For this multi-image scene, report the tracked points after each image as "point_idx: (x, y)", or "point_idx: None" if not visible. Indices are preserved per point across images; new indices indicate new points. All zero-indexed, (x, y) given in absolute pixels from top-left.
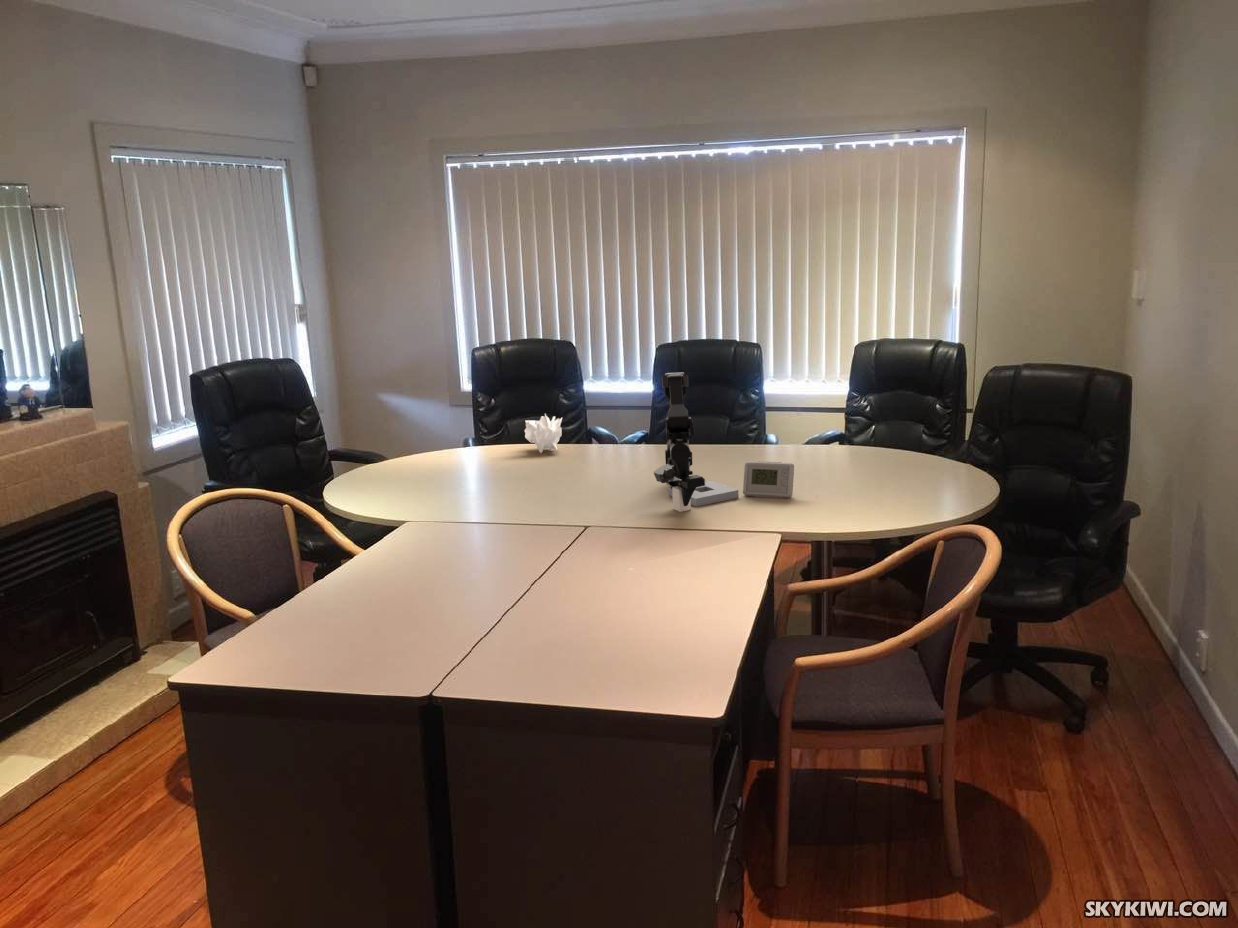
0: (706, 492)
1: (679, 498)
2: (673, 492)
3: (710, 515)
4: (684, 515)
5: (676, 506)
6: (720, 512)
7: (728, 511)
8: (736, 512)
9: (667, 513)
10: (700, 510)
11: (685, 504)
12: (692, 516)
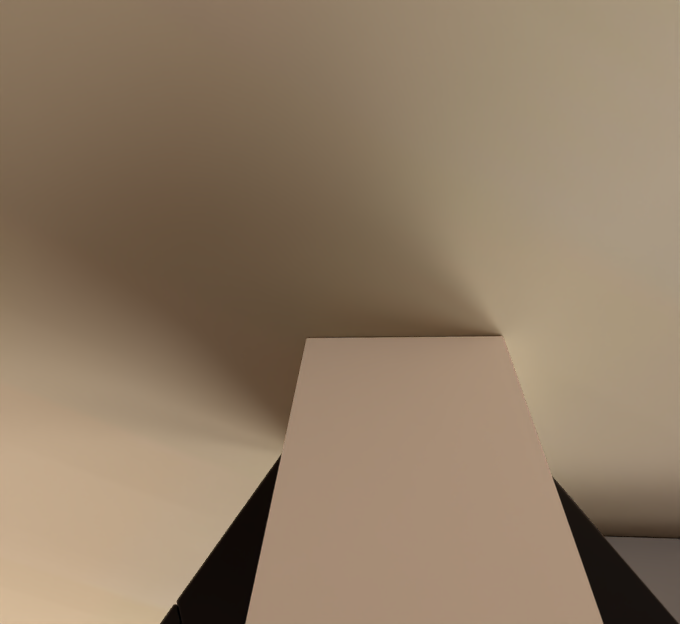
0: None
1: (268, 530)
2: None
3: (14, 479)
4: (102, 302)
5: (402, 380)
6: (92, 556)
7: (100, 591)
8: (52, 604)
9: (340, 147)
10: (236, 498)
11: (272, 476)
12: (21, 351)
